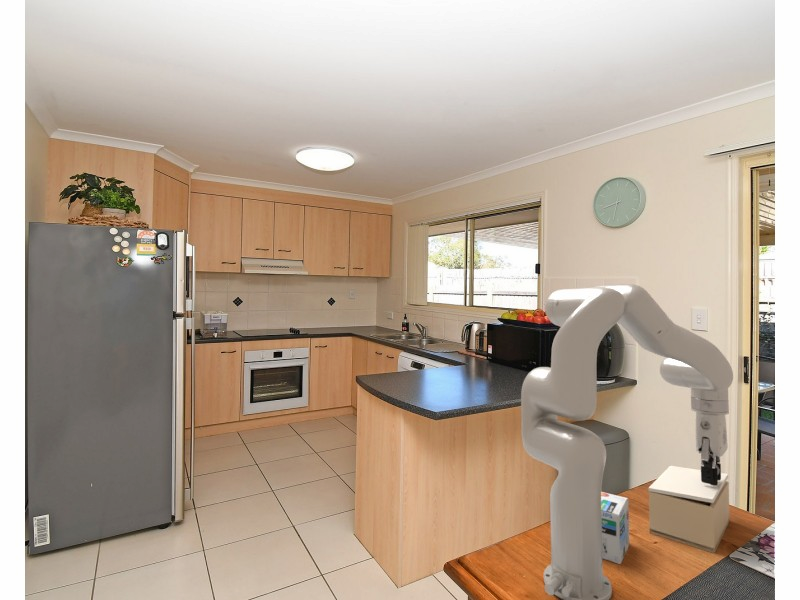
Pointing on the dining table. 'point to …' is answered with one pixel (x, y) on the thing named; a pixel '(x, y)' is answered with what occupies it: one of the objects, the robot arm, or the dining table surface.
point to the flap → (687, 484)
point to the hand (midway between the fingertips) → (711, 480)
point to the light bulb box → (614, 527)
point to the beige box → (690, 519)
